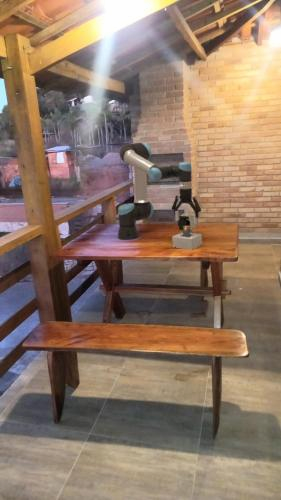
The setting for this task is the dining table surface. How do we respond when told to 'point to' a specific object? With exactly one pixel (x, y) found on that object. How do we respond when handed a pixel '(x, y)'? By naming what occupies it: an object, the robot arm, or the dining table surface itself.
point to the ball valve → (187, 221)
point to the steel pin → (186, 231)
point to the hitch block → (187, 241)
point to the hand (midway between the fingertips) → (186, 221)
